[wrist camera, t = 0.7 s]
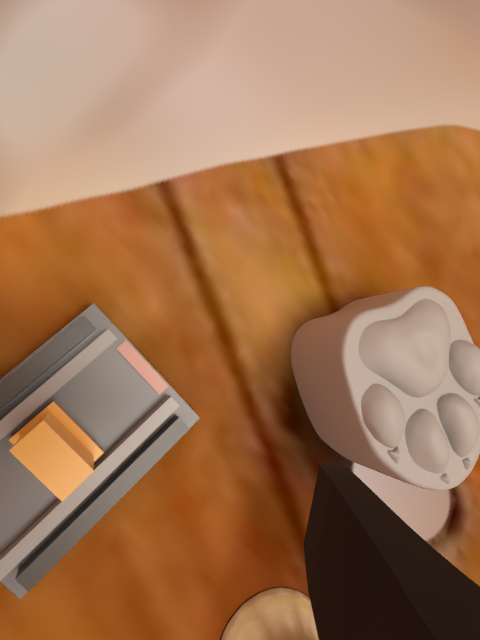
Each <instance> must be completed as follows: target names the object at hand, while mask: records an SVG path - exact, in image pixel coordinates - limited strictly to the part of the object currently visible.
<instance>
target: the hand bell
mask: <svg viewBox="0 0 480 640" xmlns="http://www.w3.org/2000/svg"><path fill="white" fill-rule="evenodd" d="M221 640H319V638H318V634H317V629H316V625H315V620H314V615H313V611H312V606H311V601H310V598H309V597H308V596H306V595H304V594H303V593H301V592H299V591H297V590H294V589H290V588H283V587H282V588H272V589H268V590H265V591H263V592H260V593H258V594H257V595H255V596H253V597H252V598H250V599H249V600H248V601H246V602H245V603H244V604H243V605H242V606H241V607H240V608H239V609H238V610H237V611H236V612H235V614H234V615H233V617H232V618H231V620H230V621H229V622H228V624H227V626H226V628H225V630H224V632H223V635H222V637H221Z"/></svg>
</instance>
